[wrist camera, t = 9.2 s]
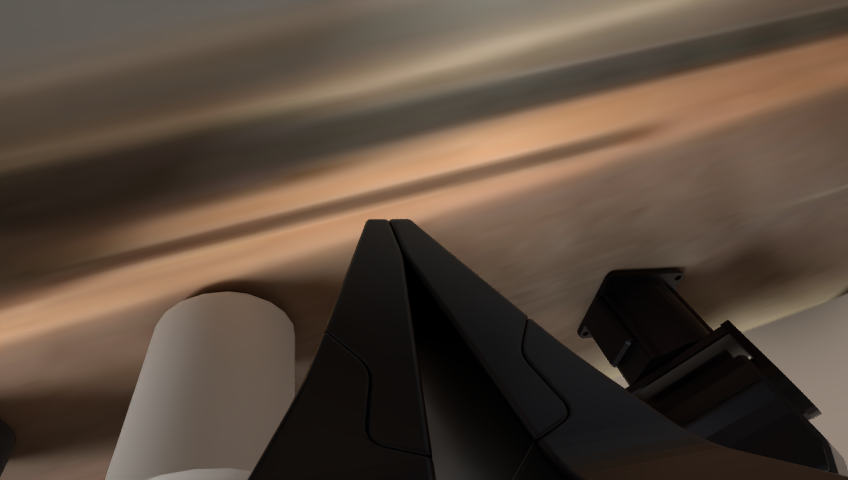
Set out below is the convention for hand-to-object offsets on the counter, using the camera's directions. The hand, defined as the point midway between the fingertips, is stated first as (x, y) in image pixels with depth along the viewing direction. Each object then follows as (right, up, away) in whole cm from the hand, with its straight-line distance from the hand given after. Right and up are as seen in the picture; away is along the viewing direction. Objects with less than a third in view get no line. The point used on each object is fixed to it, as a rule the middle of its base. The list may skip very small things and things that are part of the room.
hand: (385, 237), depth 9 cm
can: (-11, -5, +18) cm, 21 cm away
